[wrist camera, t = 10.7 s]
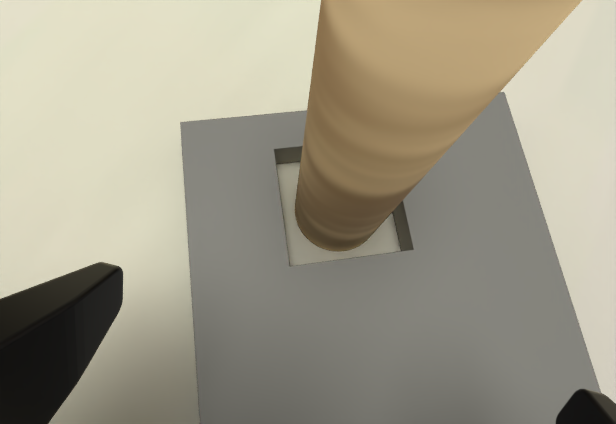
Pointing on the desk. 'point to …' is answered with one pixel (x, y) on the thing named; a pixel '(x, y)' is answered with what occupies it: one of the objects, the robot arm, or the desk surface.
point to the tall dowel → (401, 99)
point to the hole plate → (378, 291)
